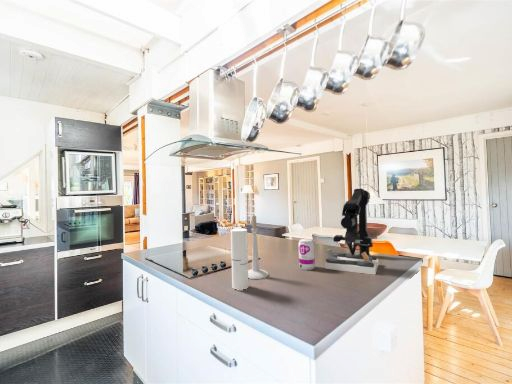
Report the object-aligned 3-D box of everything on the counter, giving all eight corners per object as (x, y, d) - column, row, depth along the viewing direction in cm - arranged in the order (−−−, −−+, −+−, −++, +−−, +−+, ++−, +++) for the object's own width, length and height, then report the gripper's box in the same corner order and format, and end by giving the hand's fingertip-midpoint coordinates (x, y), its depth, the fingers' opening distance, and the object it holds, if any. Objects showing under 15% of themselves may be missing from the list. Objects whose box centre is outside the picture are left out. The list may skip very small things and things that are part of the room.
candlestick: (271, 272, 133) (269, 213, 133) (264, 280, 121) (262, 216, 121) (247, 270, 137) (246, 213, 137) (238, 278, 124) (237, 216, 124)
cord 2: (332, 255, 152) (332, 251, 152) (377, 259, 140) (376, 255, 140) (331, 256, 149) (331, 253, 149) (376, 260, 138) (376, 257, 138)
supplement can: (310, 271, 133) (310, 242, 133) (296, 268, 138) (295, 240, 138) (317, 267, 139) (316, 239, 139) (303, 265, 144) (302, 238, 144)
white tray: (333, 260, 152) (333, 251, 152) (378, 265, 140) (378, 255, 140) (325, 268, 137) (325, 259, 137) (375, 274, 125) (374, 264, 125)
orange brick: (367, 261, 137) (362, 252, 138) (370, 260, 136) (365, 251, 137) (366, 263, 133) (361, 254, 134) (369, 262, 132) (364, 253, 133)
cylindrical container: (233, 284, 116) (231, 228, 116) (249, 284, 116) (247, 228, 116) (231, 290, 109) (229, 231, 109) (248, 290, 109) (246, 231, 109)
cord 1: (326, 261, 140) (326, 257, 140) (374, 266, 128) (374, 262, 128) (325, 262, 137) (325, 258, 137) (374, 268, 125) (373, 263, 125)
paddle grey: (333, 258, 145) (328, 249, 147) (335, 256, 145) (330, 248, 146) (331, 259, 142) (326, 251, 143) (333, 258, 141) (328, 250, 142)
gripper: (330, 227, 136) (331, 257, 136) (369, 229, 127) (370, 261, 127) (335, 224, 146) (336, 252, 146) (371, 226, 136) (372, 255, 136)
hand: (352, 255), depth 138 cm, fingers closed
